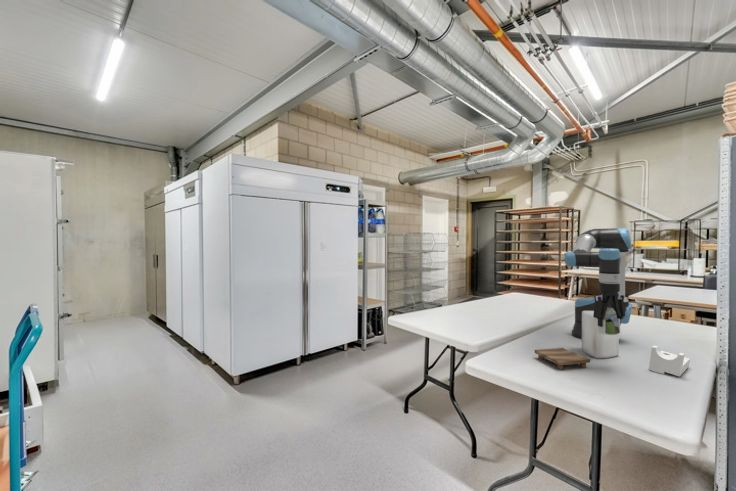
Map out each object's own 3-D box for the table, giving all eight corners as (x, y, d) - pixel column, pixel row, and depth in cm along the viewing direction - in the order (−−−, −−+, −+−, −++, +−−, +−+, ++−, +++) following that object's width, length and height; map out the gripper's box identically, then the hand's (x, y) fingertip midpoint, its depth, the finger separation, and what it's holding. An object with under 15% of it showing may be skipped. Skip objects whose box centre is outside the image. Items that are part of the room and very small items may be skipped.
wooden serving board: (534, 357, 156) (534, 349, 156) (562, 355, 159) (562, 347, 159) (559, 370, 141) (559, 362, 141) (590, 367, 144) (590, 359, 143)
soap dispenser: (618, 354, 160) (618, 311, 159) (615, 362, 149) (615, 316, 149) (583, 348, 170) (582, 307, 170) (577, 355, 160) (577, 311, 159)
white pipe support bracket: (679, 379, 132) (682, 355, 131) (648, 369, 140) (651, 346, 139) (688, 369, 143) (691, 346, 142) (659, 360, 151) (662, 339, 150)
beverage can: (622, 336, 139) (622, 309, 139) (603, 336, 141) (603, 309, 140) (614, 332, 145) (614, 306, 145) (596, 331, 147) (596, 306, 146)
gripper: (597, 284, 137) (597, 337, 137) (636, 282, 141) (636, 333, 141) (583, 282, 144) (583, 332, 145) (619, 280, 148) (619, 329, 148)
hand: (609, 332), depth 143 cm, fingers closed on beverage can, 7 cm apart
